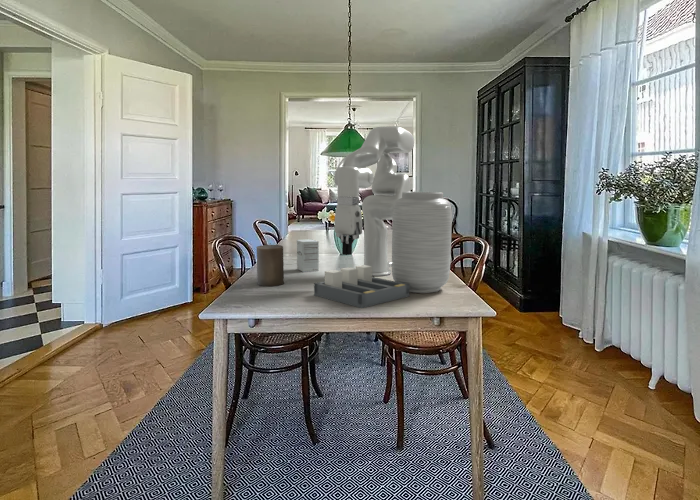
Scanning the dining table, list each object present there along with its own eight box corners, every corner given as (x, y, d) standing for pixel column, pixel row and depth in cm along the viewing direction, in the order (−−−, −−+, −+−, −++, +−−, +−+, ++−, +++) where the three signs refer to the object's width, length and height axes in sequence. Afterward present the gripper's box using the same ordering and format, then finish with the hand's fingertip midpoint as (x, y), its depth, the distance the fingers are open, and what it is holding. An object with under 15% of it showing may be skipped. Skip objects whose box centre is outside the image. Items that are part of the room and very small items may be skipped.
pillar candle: (289, 283, 178) (288, 242, 175) (267, 287, 170) (267, 245, 168) (272, 279, 184) (272, 240, 182) (251, 283, 177) (250, 242, 175)
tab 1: (324, 292, 158) (324, 271, 157) (333, 290, 161) (333, 269, 160) (332, 294, 156) (332, 273, 155) (342, 292, 158) (342, 271, 157)
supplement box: (296, 269, 206) (296, 239, 204) (313, 268, 209) (312, 238, 207) (302, 272, 199) (302, 241, 198) (319, 271, 203) (319, 240, 201)
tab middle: (340, 289, 163) (340, 268, 162) (349, 287, 166) (349, 267, 165) (348, 291, 160) (348, 270, 159) (357, 289, 163) (357, 268, 162)
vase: (381, 284, 176) (383, 191, 171) (430, 281, 183) (432, 191, 179) (408, 297, 157) (410, 193, 153) (461, 292, 165) (465, 192, 160)
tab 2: (355, 286, 168) (355, 266, 167) (363, 284, 171) (363, 265, 170) (363, 288, 165) (363, 267, 164) (371, 286, 168) (372, 266, 167)
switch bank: (314, 295, 159) (314, 282, 159) (361, 285, 174) (361, 274, 174) (361, 308, 144) (361, 294, 143) (409, 296, 159) (409, 283, 158)
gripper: (370, 202, 167) (369, 256, 169) (341, 201, 177) (340, 251, 179) (355, 202, 162) (354, 257, 164) (325, 201, 172) (325, 253, 174)
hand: (347, 254), depth 172 cm, fingers closed
